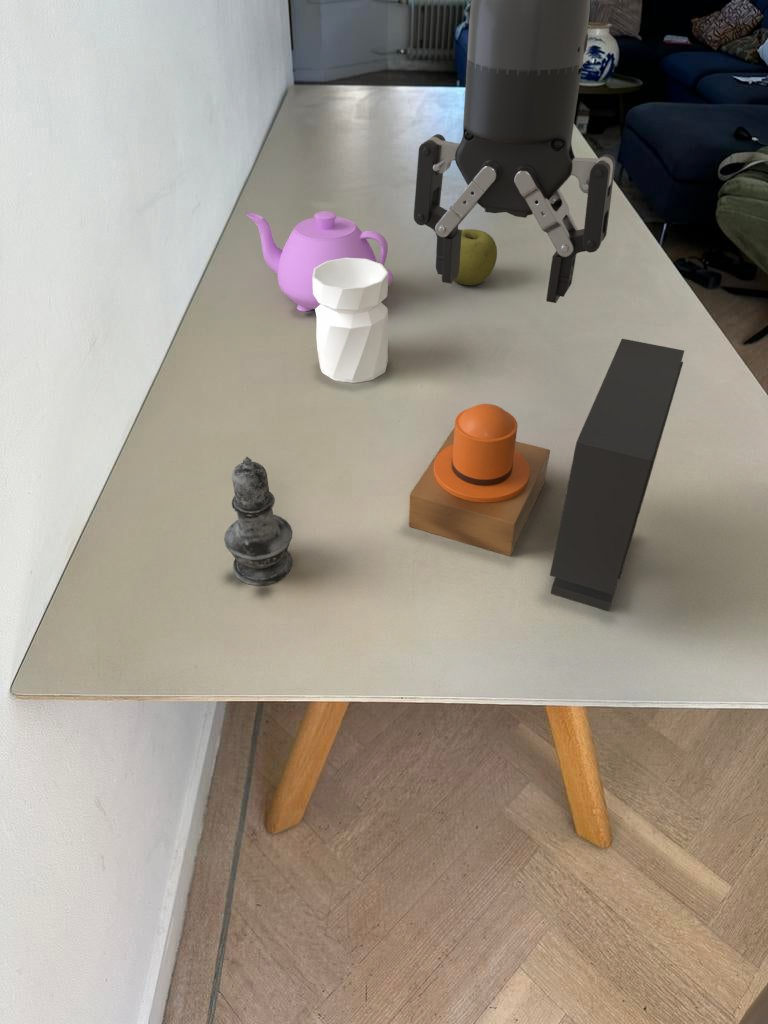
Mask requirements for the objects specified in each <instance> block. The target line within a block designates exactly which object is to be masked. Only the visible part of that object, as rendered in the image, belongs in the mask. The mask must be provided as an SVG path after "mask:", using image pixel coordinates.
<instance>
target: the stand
mask: <svg viewBox="0 0 768 1024" xmlns="http://www.w3.org/2000/svg"><path fill="white" fill-rule="evenodd" d="M454 429H455V426H454V427H453V428H452V430H451V432H450V433H449V435H448V436H447V437H446V439H445V441H444V442H443V443H442V444H441V447H440V448H439V450H438V451H437V453H435V455H434V457H433V458H432V460H431V461H430V462H429V464H428V466H427V468H426V469H425V470H424V472H423V473H422V474H421V477H420V478H419V480H418V481H417V482H416V484H415V485H414V487H413V489H412V490H411V492H410V493H409V511H408V514H409V515H408V527H409V528H413V529H416V530H419V531H423V532H426V533H429V534H433V535H437V536H440V537H443V538H447V539H450V540H453V541H457V542H460V543H464V544H466V545H471V546H474V547H477V548H481V549H483V550H487V551H491V552H494V553H498V554H501V555H504V556H508V557H511V555H512V553H513V552H514V549H515V547H516V545H517V543H518V540H519V538H520V536H521V534H522V532H523V530H524V527H525V526H526V524H527V521H528V519H529V516H530V514H531V512H532V510H533V508H534V506H535V504H536V501H537V500H538V497H539V495H540V494H541V491H542V488H543V486H544V485H545V482H546V478H547V472H548V466H549V460H550V454H551V449H549V448H545V447H541V446H537V445H533V444H529V443H525V442H521V441H517V440H516V442H515V450H516V451H517V452H519V453H520V454H521V455H522V456H523V457H524V458H525V459H526V461H527V463H528V465H529V468H530V476H529V481H528V484H527V486H526V487H525V488H524V489H523V491H521V492H520V493H519V494H517V495H516V496H514V497H512V498H510V499H507V500H504V501H499V502H491V503H481V502H472V501H468V500H464V499H461V498H458V497H456V496H454V495H452V494H450V493H448V492H447V491H445V490H444V489H443V488H442V487H441V486H440V485H439V484H438V482H437V480H436V478H435V476H434V462H435V459H436V457H437V456H438V454H439V453H440V452H441V451H442V450H443V449H445V448H446V447H448V446H450V445H452V444H453V443H454Z"/></svg>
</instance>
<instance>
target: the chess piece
mask: <svg viewBox="0 0 768 1024" xmlns="http://www.w3.org/2000/svg"><path fill="white" fill-rule="evenodd" d="M268 479H269V478H268V472H267V470H266V468H265V467H264V466H263V464H261V463H259V462H256V461H252V459H251V458H250V457H248V456H245V458H244V459H243V460H242V462H241V463H239V464H237V465H236V466H235V467H234V469H232V474H231V480H232V481H231V482H232V486H233V490H234V491H233V492H234V496H233V498H232V500H231V507H232V509H233V510H234V511H235V512H236V516H237V519H236V520H235V521H233V522H232V523H231V524H230V526H228V527H227V529H226V531H225V533H224V538H223V541H224V546H225V547H226V549H227V550H228V552H229V553H230V554H231V555H232V556H233V558H234V560H233V563H232V569H233V574H234V575H235V577H236V578H237V579H238V581H240V582H242V583H244V584H247V585H250V586H254V587H255V586H256V587H259V586H260V587H262V586H268V585H272V584H275V583H277V582H280V581H281V580H283V579H284V578H285V577H286V576H287V575H288V574H289V573H290V571H291V570H292V567H293V559H292V555H291V553H290V552H289V551H288V549H289V547H290V543H291V542H292V539H293V529H292V526H291V525H290V523H289V522H288V521H287V520H286V519H284V518H283V517H281V516H279V515H277V514H274V509H273V508H274V507H275V504H276V498H275V495H274V494H273V493H272V492H271V491H270V487H269V480H268Z"/></svg>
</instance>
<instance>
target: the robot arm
mask: <svg viewBox="0 0 768 1024" xmlns="http://www.w3.org/2000/svg"><path fill="white" fill-rule="evenodd" d="M590 12H591V0H471V1H470V9H469V21H468V37H467V54H466V68H465V69H466V70H465V71H466V72H465V89H464V90H465V91H464V104H463V105H464V106H463V120H462V122H463V123H462V131H463V132H462V137H461V140H460V142H453V141H448V140H446V138H445V136H444V135H442V134H440V133H436V134H434V135H433V136H431V137H430V138H428V139H426V140H425V141H423V142H422V143H421V144H420V145H419V147H418V154H417V167H416V168H417V169H416V179H415V180H416V181H415V193H414V194H415V195H414V205H413V220H414V222H415V224H417V225H419V226H426V227H428V228H430V229H431V230H433V231H434V233H435V235H436V249H435V250H436V252H435V255H436V256H435V269H436V273H437V275H439V276H440V275H441V282H442V283H444V284H452V283H453V282H455V281H454V280H455V279H456V278H457V277H458V274H459V266H460V250H461V234H462V230H463V229H459V225H460V224H461V223H462V222H463V221H464V219H465V218H466V217H467V216H468V215H469V214H470V213H471V212H472V210H473V209H474V208H475V207H476V206H477V205H479V206H480V207H481V208H483V209H484V212H485V213H489V214H500V213H507V214H509V215H511V216H514V217H516V218H524V219H525V218H526V219H527V217H528V216H532V215H533V216H534V218H535V220H536V221H537V224H538V225H539V227H540V229H541V230H542V231H543V232H544V233H546V234H547V237H549V240H550V241H551V243H552V245H553V247H554V249H555V252H554V254H553V255H552V258H551V264H550V271H549V278H548V284H547V285H548V286H547V291H546V298H545V299H546V302H547V303H554V304H557V303H558V301H559V299H560V297H563V298H564V297H565V295H566V294H567V292H568V291H569V289H570V286H571V285H573V284H572V283H573V282H572V281H573V278H574V271H575V264H576V258H577V254H579V253H583V252H588V253H595V252H596V251H598V250H599V248H600V247H601V245H602V242H603V241H604V240H605V239H606V236H607V233H608V225H609V217H610V210H611V202H612V194H613V185H614V178H615V169H616V160H615V159H616V158H615V157H614V156H613V155H611V154H607V153H605V154H603V155H601V156H600V157H599V158H595V157H594V158H593V157H576V156H575V153H574V151H573V145H572V142H573V141H572V139H573V133H574V126H575V118H576V111H577V106H578V105H577V104H578V97H579V90H580V84H581V77H582V71H583V65H584V64H583V63H584V57H585V53H586V52H587V47H588V40H589V33H588V29H589V22H590ZM453 161H455V165H456V166H457V169H458V171H459V172H460V174H461V175H462V177H463V180H464V181H465V183H466V185H467V186H466V187H465V188H464V190H463V191H462V192H461V193H460V195H459V196H458V197H457V198H456V199H455V201H454V202H453V203H452V204H451V205H450V207H449V208H448V210H447V209H446V208H444V207H442V206H441V197H442V189H443V188H442V187H443V177H444V173H445V172H447V170H449V169H450V168H451V165H452V162H453ZM571 176H572V177H573V176H574V177H575V178H576V179H577V181H578V186H579V189H580V191H581V192H582V193H584V194H587V198H586V207H585V218H584V226H583V227H584V228H581V229H578V226H577V225H576V223H575V221H574V220H573V217H572V216H571V213H570V207H569V205H568V203H567V201H566V199H565V198H564V195H563V193H562V192H561V190H560V189H561V188H562V186H563V185H564V184H565V183H566V182H567V181H568V179H570V177H571ZM738 1024H768V982H767V983H766V984H765V985H764V987H763V988H762V989H761V991H760V992H759V993H758V995H757V996H756V997H755V999H754V1000H753V1002H751V1004H750V1005H749V1006H748V1008H747V1009H746V1010H745V1012H744V1014H743V1016H742V1017H741V1019H740V1020H739V1022H738Z"/></svg>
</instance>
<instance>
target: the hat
mask: <svg viewBox="0 0 768 1024" xmlns="http://www.w3.org/2000/svg"><path fill="white" fill-rule="evenodd" d="M454 427H455V429H454V443H453V444H452V445H450V446H448V447H446V448H445V449H443V450H442V451H441V452H440V453H439V454H438V456H437V457H436V459H435V462H434V476H435V478H436V480H437V482H438V484H439V485H440V486H441V487H442V488H443V489H444V490H445V491H447V492H448V493H450V494H452V495H454V496H456V497H458V498H461V499H464V500H468V501H472V502H481V503H491V502H499V501H504V500H507V499H510V498H512V497H514V496H516V495H517V494H519V493H520V492H521V491H523V489H524V488H525V487H526V486H527V484H528V481H529V476H530V468H529V465H528V463H527V461H526V459H525V458H524V457H523V456H522V455H521V454H520V453H519V452H517V451H516V450H515V442H516V441H517V435H518V421H517V418H515V417H514V415H512V413H510V412H508V411H507V410H505V409H503V408H502V407H500V406H498V405H495V404H493V403H480V404H476V405H473V406H471V407H468V408H466V409H463V410H461V412H459V413H458V414H457V415H456V417H455V419H454Z"/></svg>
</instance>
